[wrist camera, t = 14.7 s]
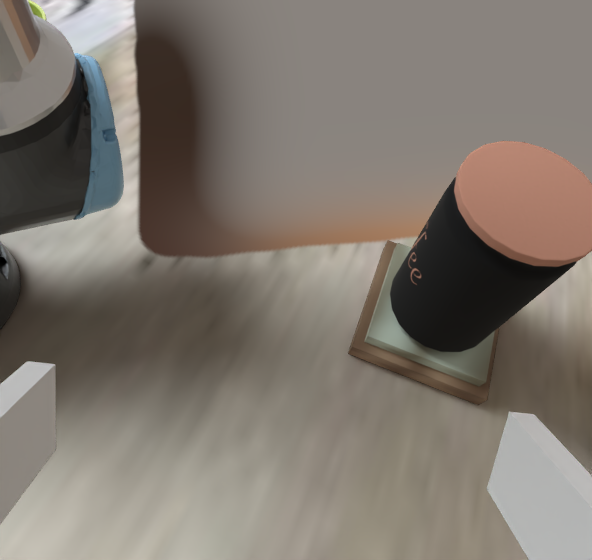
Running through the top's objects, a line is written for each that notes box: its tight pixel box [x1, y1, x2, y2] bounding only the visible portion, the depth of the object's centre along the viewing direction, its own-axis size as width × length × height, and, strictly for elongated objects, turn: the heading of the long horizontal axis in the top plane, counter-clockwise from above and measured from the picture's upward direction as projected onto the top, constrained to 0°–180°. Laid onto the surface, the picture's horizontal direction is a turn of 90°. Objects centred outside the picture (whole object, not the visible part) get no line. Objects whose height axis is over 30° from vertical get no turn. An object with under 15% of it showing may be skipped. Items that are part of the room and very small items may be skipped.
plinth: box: [348, 241, 499, 405], centre depth 50 cm, size 14×14×4 cm
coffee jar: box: [390, 141, 592, 352], centre depth 41 cm, size 11×11×18 cm
